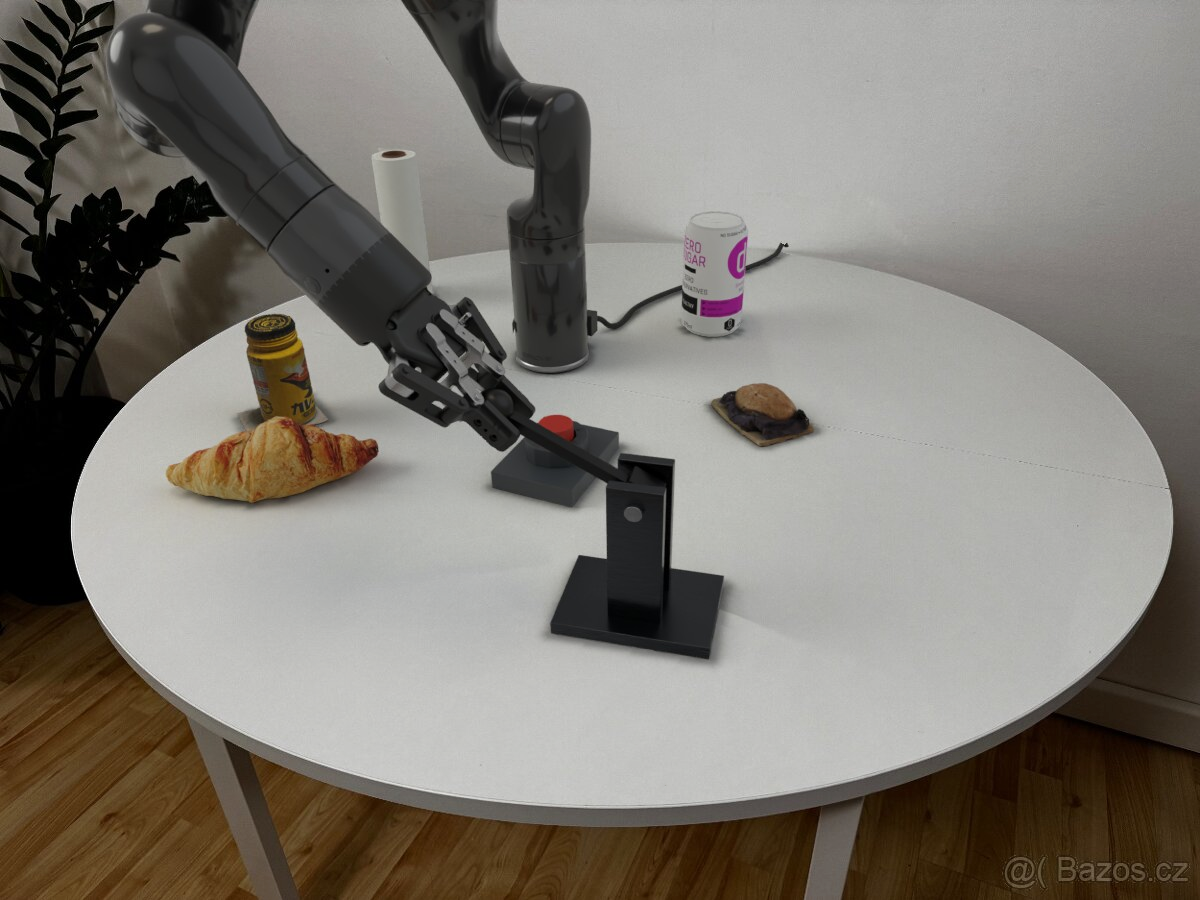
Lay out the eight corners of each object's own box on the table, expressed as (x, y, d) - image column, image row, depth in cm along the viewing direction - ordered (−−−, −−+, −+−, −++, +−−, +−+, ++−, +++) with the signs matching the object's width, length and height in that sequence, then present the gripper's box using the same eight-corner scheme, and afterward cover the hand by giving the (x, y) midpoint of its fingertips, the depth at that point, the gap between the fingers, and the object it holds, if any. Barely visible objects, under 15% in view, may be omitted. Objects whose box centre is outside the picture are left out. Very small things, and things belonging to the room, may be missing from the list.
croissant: (175, 533, 91) (145, 497, 84) (178, 449, 96) (150, 408, 89) (387, 503, 94) (375, 466, 87) (380, 422, 99) (368, 381, 92)
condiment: (328, 421, 103) (309, 325, 96) (254, 443, 99) (228, 344, 93) (308, 396, 108) (288, 303, 102) (237, 416, 104) (211, 321, 98)
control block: (545, 431, 100) (543, 400, 98) (619, 447, 97) (619, 415, 95) (492, 487, 91) (488, 454, 89) (572, 507, 88) (570, 473, 86)
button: (548, 426, 94) (547, 411, 93) (579, 432, 93) (579, 418, 92) (532, 442, 91) (531, 428, 90) (564, 449, 90) (563, 435, 89)
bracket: (550, 633, 73) (542, 495, 66) (578, 564, 80) (574, 433, 73) (709, 659, 70) (719, 518, 63) (723, 585, 78) (733, 451, 70)
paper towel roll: (430, 308, 130) (411, 158, 119) (388, 308, 130) (366, 159, 119) (438, 289, 136) (421, 145, 125) (398, 289, 136) (378, 145, 125)
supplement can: (750, 321, 124) (759, 215, 116) (724, 343, 119) (731, 233, 111) (698, 309, 128) (703, 206, 120) (670, 330, 122) (673, 223, 114)
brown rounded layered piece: (705, 406, 105) (706, 378, 103) (766, 391, 107) (768, 363, 106) (755, 450, 96) (757, 420, 94) (820, 431, 99) (823, 402, 97)
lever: (460, 423, 68) (475, 392, 66) (474, 403, 70) (489, 373, 68) (643, 526, 69) (662, 498, 67) (651, 503, 71) (670, 475, 69)
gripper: (330, 268, 57) (523, 454, 61) (420, 203, 68) (576, 363, 72) (272, 336, 61) (456, 507, 65) (366, 264, 72) (517, 412, 76)
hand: (519, 430), depth 69 cm, fingers closed on lever, 3 cm apart
